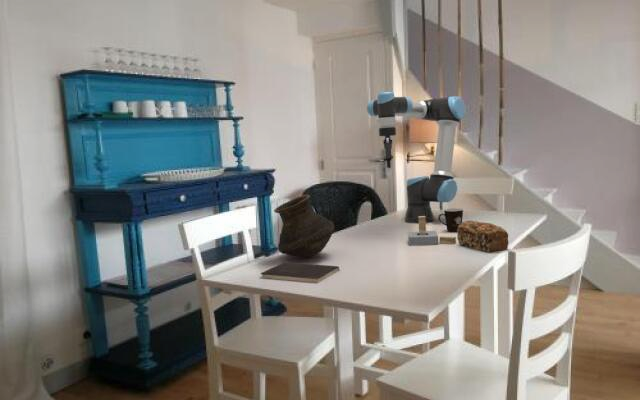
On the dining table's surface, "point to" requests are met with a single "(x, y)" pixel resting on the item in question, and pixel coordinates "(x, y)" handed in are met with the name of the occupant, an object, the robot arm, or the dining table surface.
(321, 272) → the hardcover book
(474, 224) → the bread
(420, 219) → the long oak peg
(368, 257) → the dining table surface
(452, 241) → the short oak peg
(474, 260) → the dining table surface
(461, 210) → the coffee mug
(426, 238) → the socket block
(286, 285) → the dining table surface
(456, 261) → the dining table surface
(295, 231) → the ceramic pot
